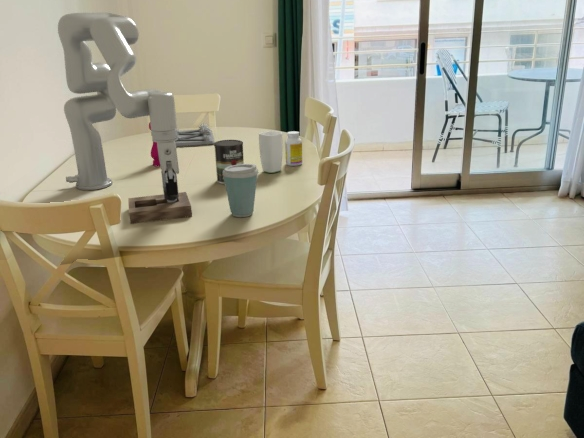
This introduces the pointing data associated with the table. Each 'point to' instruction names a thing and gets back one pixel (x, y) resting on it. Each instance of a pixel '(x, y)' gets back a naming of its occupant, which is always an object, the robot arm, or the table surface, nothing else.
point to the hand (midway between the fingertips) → (170, 190)
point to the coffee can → (227, 156)
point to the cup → (271, 151)
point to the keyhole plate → (158, 208)
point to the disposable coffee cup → (241, 188)
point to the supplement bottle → (293, 149)
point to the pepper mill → (154, 152)
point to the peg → (169, 198)
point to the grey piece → (195, 137)
